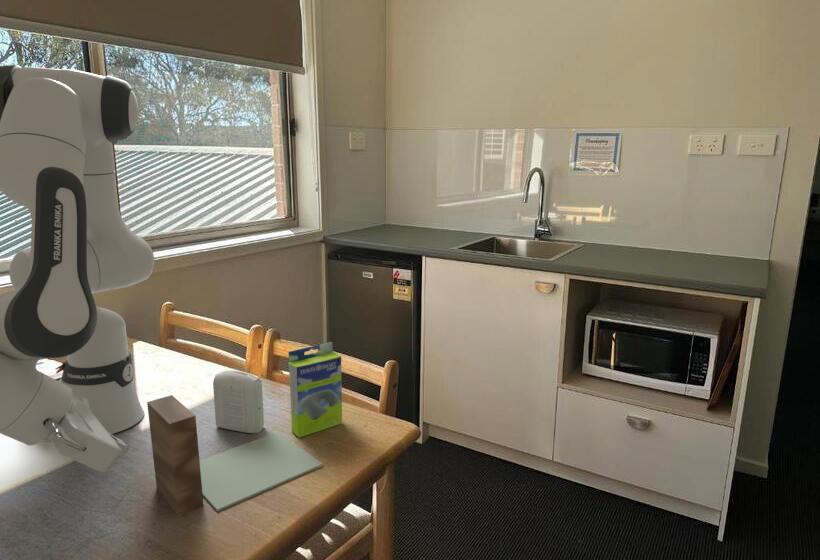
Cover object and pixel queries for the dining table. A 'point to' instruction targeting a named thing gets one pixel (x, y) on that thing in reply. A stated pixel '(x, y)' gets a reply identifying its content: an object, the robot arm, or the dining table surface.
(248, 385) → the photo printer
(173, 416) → the walnut block
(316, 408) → the box
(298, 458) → the mat
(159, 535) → the dining table surface
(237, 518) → the dining table surface
